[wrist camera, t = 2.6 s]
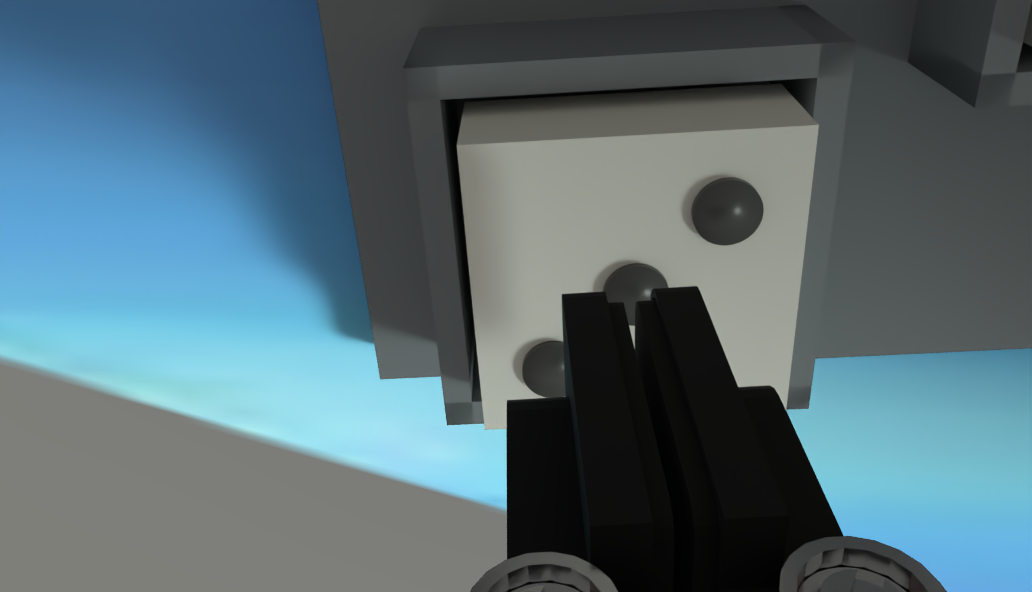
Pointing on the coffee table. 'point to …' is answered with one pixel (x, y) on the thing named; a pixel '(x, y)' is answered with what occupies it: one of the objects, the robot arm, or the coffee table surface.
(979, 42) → the button board
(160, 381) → the coffee table surface
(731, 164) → the button three
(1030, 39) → the button two
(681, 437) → the robot arm
